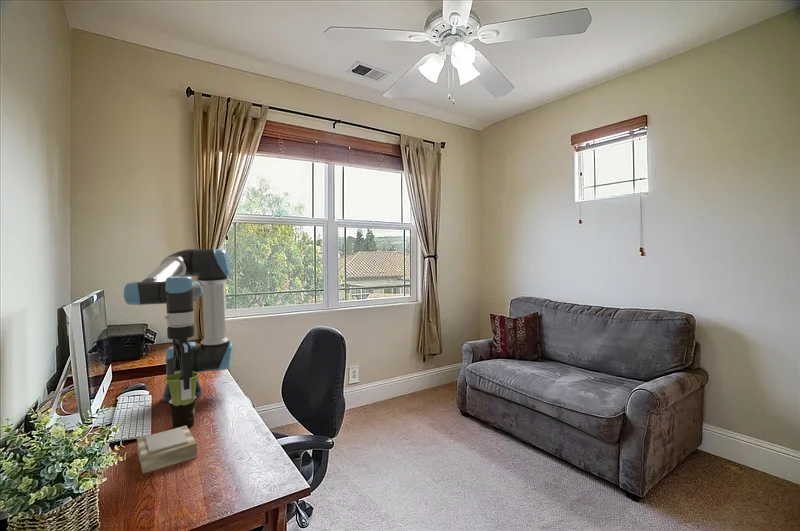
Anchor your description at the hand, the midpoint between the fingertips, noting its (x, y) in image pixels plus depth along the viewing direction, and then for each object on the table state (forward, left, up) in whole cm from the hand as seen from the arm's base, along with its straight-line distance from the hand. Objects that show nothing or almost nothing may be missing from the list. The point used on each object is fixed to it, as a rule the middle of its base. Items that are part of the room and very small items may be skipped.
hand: (183, 394), depth 124 cm
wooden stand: (0, -5, -18) cm, 18 cm away
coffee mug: (-20, +4, -18) cm, 27 cm away
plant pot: (0, 0, -3) cm, 3 cm away
